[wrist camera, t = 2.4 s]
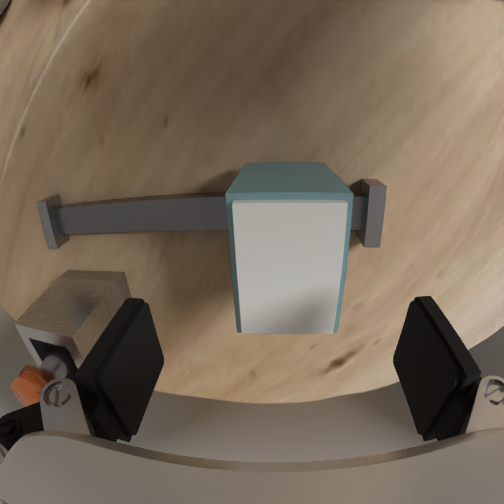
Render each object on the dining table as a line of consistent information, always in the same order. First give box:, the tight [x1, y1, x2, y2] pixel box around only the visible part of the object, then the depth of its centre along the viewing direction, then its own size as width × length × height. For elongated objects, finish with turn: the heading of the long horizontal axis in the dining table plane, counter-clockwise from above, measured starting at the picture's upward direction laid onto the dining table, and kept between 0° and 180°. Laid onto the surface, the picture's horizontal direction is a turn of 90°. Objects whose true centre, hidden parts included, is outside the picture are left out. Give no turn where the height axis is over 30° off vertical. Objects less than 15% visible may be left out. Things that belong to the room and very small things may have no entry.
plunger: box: [11, 345, 75, 407], centre depth 18 cm, size 4×4×8 cm
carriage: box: [225, 162, 353, 334], centre depth 17 cm, size 5×7×9 cm
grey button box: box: [15, 270, 131, 381], centre depth 23 cm, size 7×7×9 cm
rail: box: [37, 179, 387, 249], centre depth 21 cm, size 27×4×2 cm, turn 92°
